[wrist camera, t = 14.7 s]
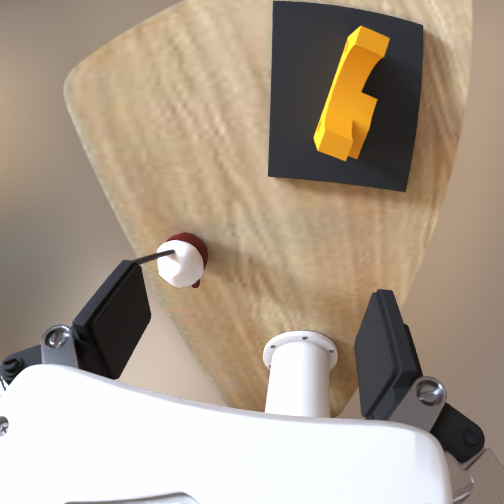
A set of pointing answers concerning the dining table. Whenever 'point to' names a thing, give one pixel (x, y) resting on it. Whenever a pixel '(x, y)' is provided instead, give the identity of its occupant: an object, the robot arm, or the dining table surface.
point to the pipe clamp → (350, 97)
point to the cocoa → (180, 260)
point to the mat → (318, 87)
